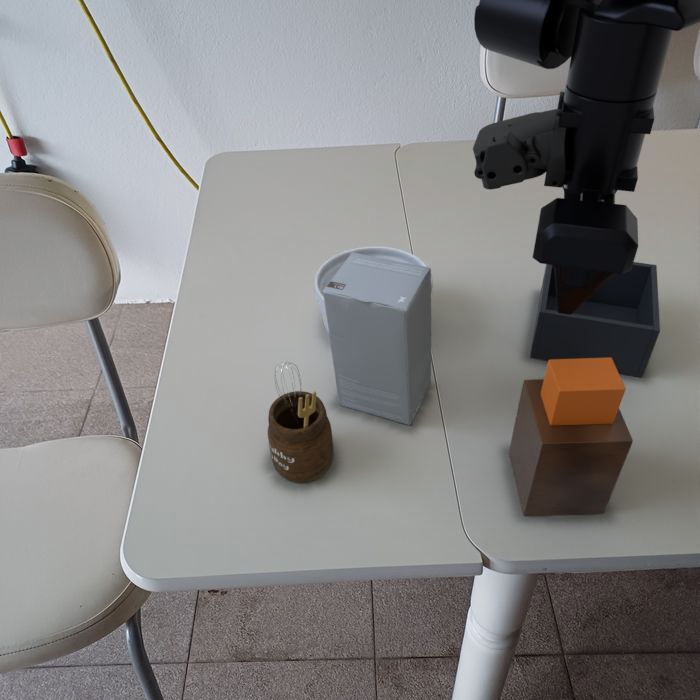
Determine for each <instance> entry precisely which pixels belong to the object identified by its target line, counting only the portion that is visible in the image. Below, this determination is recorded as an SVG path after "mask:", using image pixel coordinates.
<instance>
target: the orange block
mask: <svg viewBox="0 0 700 700" xmlns="http://www.w3.org/2000/svg"><path fill="white" fill-rule="evenodd" d="M543 379H544V381H543V385H542V390H541V397H542V401H543V404H544V407H545V410H546V413H547V417H548V420H549V423H550V425H551V426H553V425H586V424H613V423H614V420H615V417H616V414H617V412H618V409H620V407H621V403H622V401H623V398H624V395H625V392H626V386H625V384H624V382H623V379H622V377H621V374H619V373H618V371H617V368H616V366H615V364H614V362H613V359H612V358H580V359H550V360H548V361H547V365H546V368H545V373H544V377H543Z"/></svg>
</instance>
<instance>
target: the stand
mask: <svg viewBox="0 0 700 700" xmlns="http://www.w3.org/2000/svg"><path fill="white" fill-rule="evenodd" d="M543 381H544V378H540V379H539V378H538V379H523V382H522V387H521V392H520V396H519V402H518V406H517V411H516V415H515V420H514V425H513V429H512V430H513V431H512V433H511V439H510V444H509V445H510V446H509V449H508V456H509V460H510V465H511V469H512V472H513V473H512V474H513V477H514V481H515V486H516V490H517V494H518V498H519V502H520V507H521V510H522V516H524V517H537V516H539V517H540V516H541V517H542V516H570V515H571V516H572V515H576V516H577V515H604V514H605V511H606V508H607V506H608V505H609V501H610V499H611V496H612V494H613V491H614V489H615V487H616V484H617V482H618V479H619V477H620V474H621V472H622V469H623V467H624V466H625V465H624V464H625V462H626V459H627V457H628V454H629V452H630V449H631V447H632V444H633V442H634V439H633V436H632V434H631V433H630V430H629V428H628V426H627V423H626V420H625V418H624V416H623V414H622V411H621V409H620V408H619V409H618V412H617V414H616V417H615V420H614V423H613V424H586V425H553V426H551V425H550V423H549V420H548V417H547V413H546V410H545V407H544V404H543V401H542V397H541V390H542V385H543Z"/></svg>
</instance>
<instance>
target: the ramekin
mask: <svg viewBox="0 0 700 700" xmlns="http://www.w3.org/2000/svg"><path fill="white" fill-rule="evenodd" d="M352 252H355V253H359V254H364V255H368V256H373V257H378V258H383V259H388V260H393V261H398V262H403V263H408V264H413V265H418V266H423V267H428V265H427V264H426V263H425V262H424V261H423V260H422V259H421V258H420V257H418V256H417V255H415V254H413V253H411V252H408V251H406V250H403V249H400V248H396V247H390V246H379V245H377V246H376V245H375V246H374V245H372V246H370V245H369V246H360V247H356V248H351V249H347V250H345V251H342V252H338V253H337V254H335V255H333V256H331V257H330V258H328V259H327V260H326V261H325V262H323V264H321V266H319V268H318V270H317V271H316V274H315V276H314V280H313V282H314V283H313V284H314V295H315V298H316V301H317V303H318V304H319V309H320V312H321V317H322V320H323V324H324V327H325V329H326V331H327V334H329V328H328V322H327V315H326V308H325V302H324V296H323V290H324V289H325V287H326V286H327V285H328V283H329V282H330V281H331V280H332V278H333V277H334V276H335V274H336V273H337V272H338V270H339V269H340V268H341V266H342V265H343V264H344V263H345V261H346V260H347V258H348V257H349V256H350V254H351V253H352ZM428 268H429V267H428ZM432 294H433V274H431V295H432Z"/></svg>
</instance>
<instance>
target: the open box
mask: <svg viewBox="0 0 700 700" xmlns="http://www.w3.org/2000/svg"><path fill="white" fill-rule="evenodd" d="M658 285H659V284H658V267H657V264H653V263H644V262H638V261H634V262H633V265H632V269H631V270H630V271H628V272H625V273H623V274H618V273H615V274H614V275H613V276H612V277H611V278H609V279H608V280H607V281H606V282H605V283H604V284H602V285H601V286H600V287H599V288H598V289H597V290H596V291H595V292H594V293H593V294H592V295H591V296H590V297H589V298H588V299H587V300H586V301H585V302H584V303H583V304H582V305H581V306H580V307H579V308H578V309H577V310H576V311H575V312H574V313H573V314H571V315H568V314H561V313H558V312H557V300H556V284H555V271H554V267H553V266H552V265H549V264H545V268H544V273H543V278H542V283H541V287H540V288H541V289H540V292H539V298H538V303H537V304H538V305H537V310H536V317H535V324H534V329H533V336H532V340H531V341H532V342H531V349H530V354H529V358H530V359H535V360H541V361H545V362H548V360H550V359H580V358H612V359H613V362H614V364H615V366H616V368H617V371H618V373H619V375H625V376H631V377H637V378H643V377H644V374H645V372H646V369H647V367H648V364H649V361H650V359H651V357H652V353H653V351H654V348H655V345H656V343H657V340H658V338H659V335H660V333H661V322H660V320H661V319H660V305H659V304H660V303H659V287H658Z"/></svg>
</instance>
